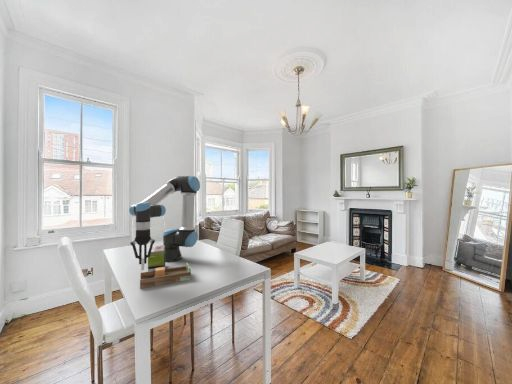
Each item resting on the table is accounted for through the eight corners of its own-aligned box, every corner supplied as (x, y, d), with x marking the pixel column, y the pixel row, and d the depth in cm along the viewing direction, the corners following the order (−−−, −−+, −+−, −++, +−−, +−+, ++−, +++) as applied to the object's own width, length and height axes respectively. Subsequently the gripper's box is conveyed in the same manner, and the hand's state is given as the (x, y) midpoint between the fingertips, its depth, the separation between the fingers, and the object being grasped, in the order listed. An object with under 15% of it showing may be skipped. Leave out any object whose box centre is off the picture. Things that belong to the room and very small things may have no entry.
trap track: (140, 280, 130) (140, 269, 130) (187, 272, 142) (187, 262, 142) (140, 288, 120) (139, 276, 120) (190, 279, 132) (190, 268, 132)
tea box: (150, 267, 152) (149, 246, 152) (165, 265, 156) (165, 244, 156) (147, 275, 138) (147, 251, 138) (164, 272, 142) (164, 250, 142)
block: (155, 274, 133) (155, 268, 132) (164, 273, 135) (164, 266, 135) (155, 277, 128) (155, 270, 128) (164, 276, 130) (164, 269, 130)
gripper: (129, 230, 121) (129, 273, 121) (155, 229, 127) (155, 269, 127) (130, 228, 127) (130, 269, 127) (155, 227, 133) (154, 265, 133)
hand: (142, 269), depth 127 cm, fingers closed
